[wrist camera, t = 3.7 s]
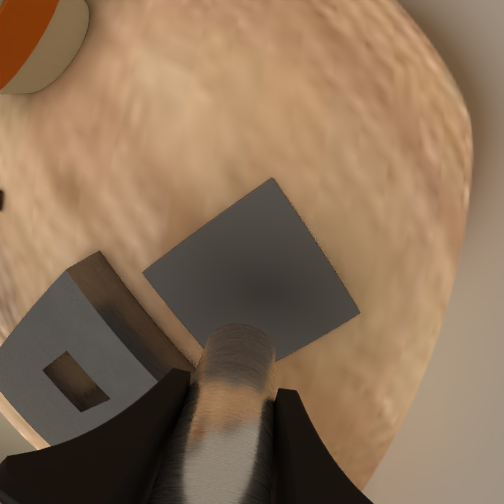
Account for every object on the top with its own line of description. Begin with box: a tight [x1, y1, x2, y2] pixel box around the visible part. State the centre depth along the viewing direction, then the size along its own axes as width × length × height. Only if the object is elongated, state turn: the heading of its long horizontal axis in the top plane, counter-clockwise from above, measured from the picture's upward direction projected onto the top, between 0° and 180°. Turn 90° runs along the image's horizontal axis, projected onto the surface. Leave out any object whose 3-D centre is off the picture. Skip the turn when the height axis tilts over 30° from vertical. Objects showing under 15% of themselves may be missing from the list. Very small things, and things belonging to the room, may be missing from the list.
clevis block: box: [0, 251, 196, 446], centre depth 20 cm, size 12×20×4 cm, turn 125°
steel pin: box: [147, 323, 275, 504], centre depth 8 cm, size 3×3×10 cm
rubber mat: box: [142, 178, 360, 362], centre depth 19 cm, size 10×10×1 cm
